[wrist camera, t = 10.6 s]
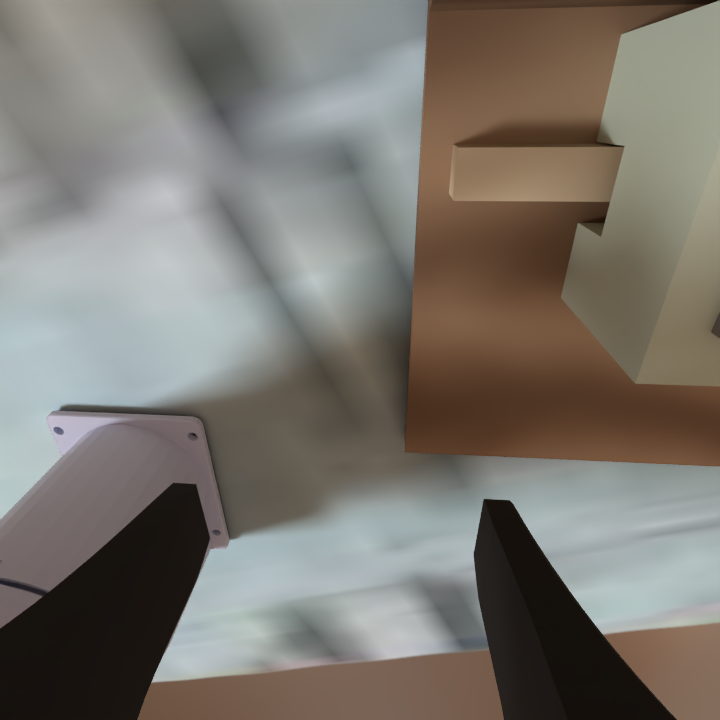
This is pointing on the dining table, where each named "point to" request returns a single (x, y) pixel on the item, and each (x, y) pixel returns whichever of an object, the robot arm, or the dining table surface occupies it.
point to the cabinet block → (658, 208)
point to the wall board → (527, 243)
